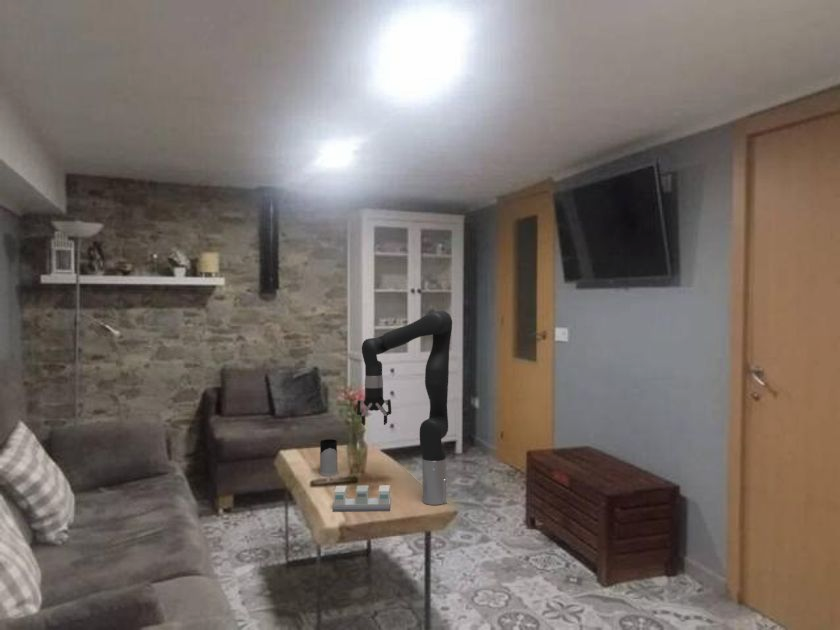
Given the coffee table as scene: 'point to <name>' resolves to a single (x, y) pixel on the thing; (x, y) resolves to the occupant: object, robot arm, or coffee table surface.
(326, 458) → the glass holder
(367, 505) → the board
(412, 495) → the coffee table surface
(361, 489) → the block
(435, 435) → the robot arm
